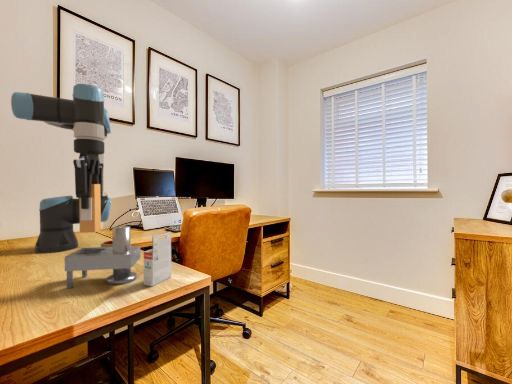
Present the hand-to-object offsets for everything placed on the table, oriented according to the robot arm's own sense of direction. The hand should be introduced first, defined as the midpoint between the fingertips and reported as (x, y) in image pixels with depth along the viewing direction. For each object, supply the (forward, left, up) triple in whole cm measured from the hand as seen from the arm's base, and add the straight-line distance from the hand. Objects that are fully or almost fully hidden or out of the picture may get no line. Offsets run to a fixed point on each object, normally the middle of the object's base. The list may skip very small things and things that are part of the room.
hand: (90, 219), depth 75 cm
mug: (-26, -5, -19) cm, 33 cm away
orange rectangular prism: (0, 0, -4) cm, 4 cm away
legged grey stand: (0, +4, -19) cm, 19 cm away
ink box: (+3, +19, -19) cm, 27 cm away
